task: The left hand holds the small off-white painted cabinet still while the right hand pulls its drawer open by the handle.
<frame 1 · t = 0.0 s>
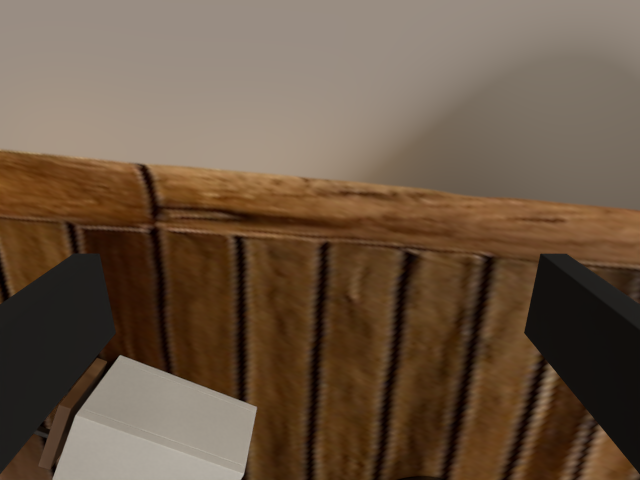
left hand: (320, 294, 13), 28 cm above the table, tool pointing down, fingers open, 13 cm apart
cabinet: (176, 411, 50), on the table
drawer: (113, 425, 45), point 5 cm above the table, slide at 0.8 cm
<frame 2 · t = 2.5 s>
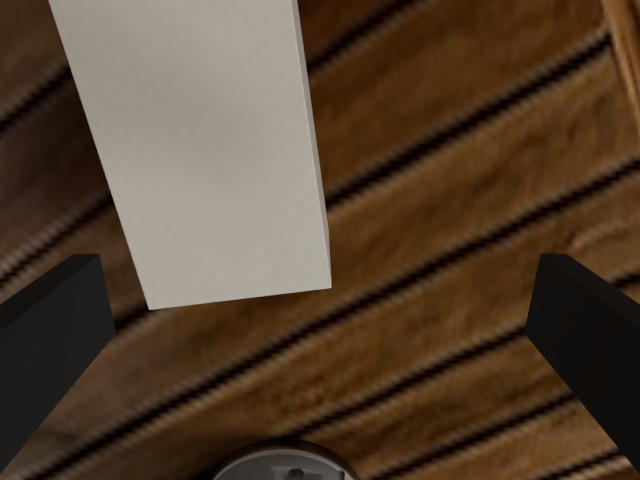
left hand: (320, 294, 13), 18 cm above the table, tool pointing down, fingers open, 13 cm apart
cabinet: (238, 122, 28), on the table
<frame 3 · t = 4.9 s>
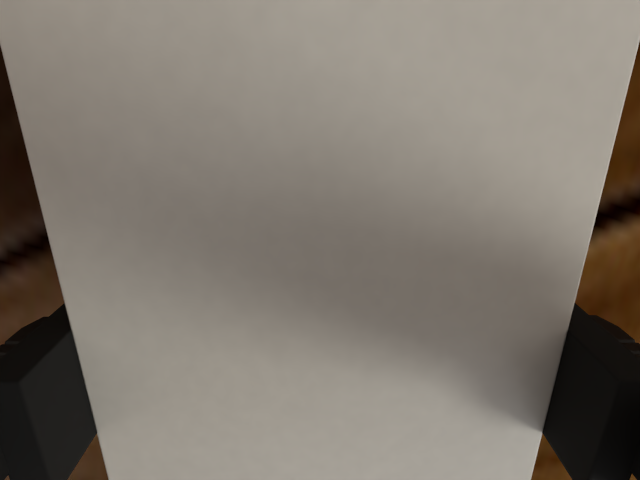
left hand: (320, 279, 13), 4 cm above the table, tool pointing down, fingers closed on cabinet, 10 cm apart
cabinet: (319, 126, 16), on the table, touching left hand
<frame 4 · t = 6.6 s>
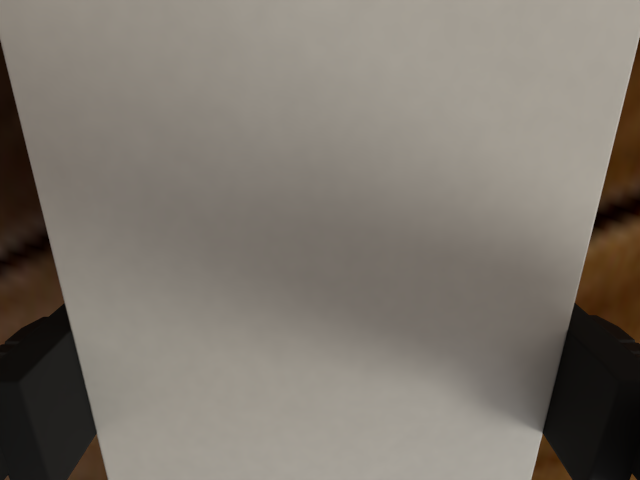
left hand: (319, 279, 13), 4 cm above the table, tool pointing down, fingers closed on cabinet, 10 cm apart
cabinet: (319, 127, 16), on the table, touching left hand
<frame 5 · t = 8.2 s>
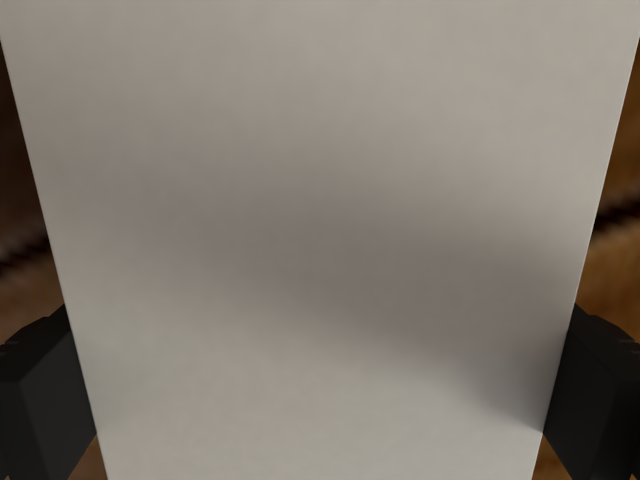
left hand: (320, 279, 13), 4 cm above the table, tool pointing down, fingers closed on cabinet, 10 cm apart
cabinet: (319, 127, 16), on the table, touching left hand
when the left hand's fingers open (4 cm above the table, at t = 9.6 s): cabinet stays where it is, on the table.
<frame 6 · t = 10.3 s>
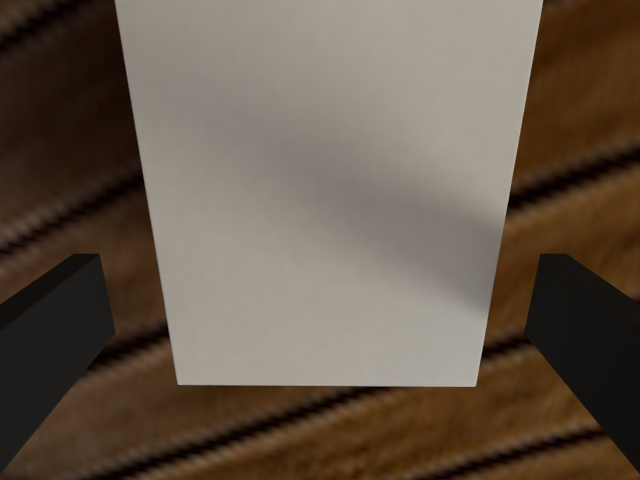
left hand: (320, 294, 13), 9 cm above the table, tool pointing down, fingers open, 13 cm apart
cabinet: (326, 103, 19), on the table
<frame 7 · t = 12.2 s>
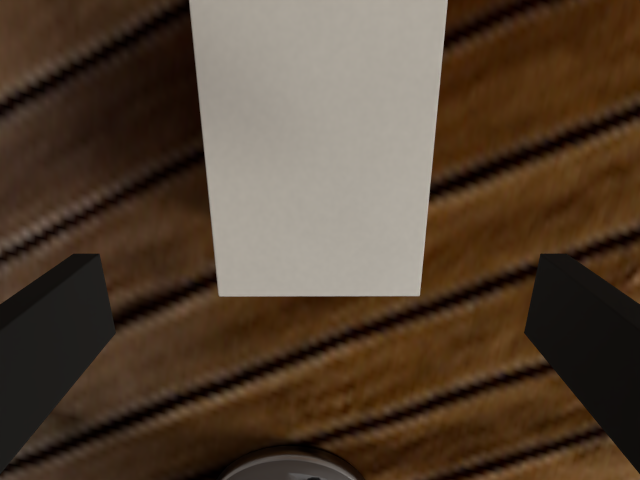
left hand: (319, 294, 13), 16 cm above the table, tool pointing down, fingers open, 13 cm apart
cabinet: (319, 108, 26), on the table
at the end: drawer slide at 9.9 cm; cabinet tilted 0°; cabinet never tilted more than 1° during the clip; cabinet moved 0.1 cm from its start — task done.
